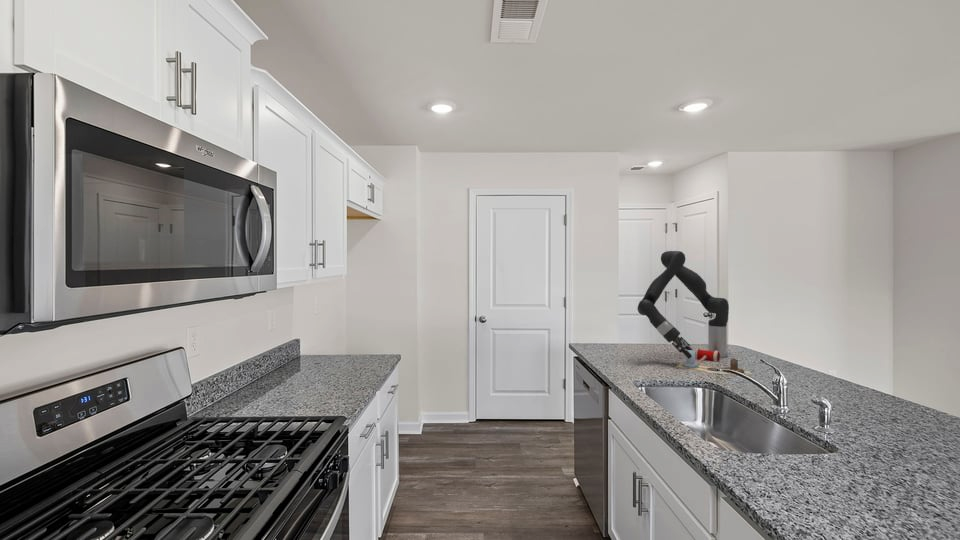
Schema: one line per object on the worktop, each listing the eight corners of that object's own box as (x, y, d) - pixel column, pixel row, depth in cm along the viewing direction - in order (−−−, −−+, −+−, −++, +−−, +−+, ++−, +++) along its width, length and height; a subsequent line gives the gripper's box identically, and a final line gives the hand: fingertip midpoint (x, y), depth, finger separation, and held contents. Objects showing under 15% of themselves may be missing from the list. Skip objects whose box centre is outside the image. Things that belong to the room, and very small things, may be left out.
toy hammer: (708, 369, 220) (708, 357, 220) (683, 366, 228) (683, 353, 228) (720, 361, 237) (720, 350, 237) (696, 358, 245) (697, 347, 245)
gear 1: (684, 364, 225) (684, 348, 224) (699, 366, 220) (699, 350, 220) (681, 367, 219) (681, 351, 219) (696, 369, 215) (696, 352, 215)
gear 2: (725, 369, 214) (725, 355, 214) (744, 371, 209) (745, 358, 209) (723, 372, 208) (723, 358, 208) (743, 375, 203) (743, 361, 203)
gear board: (680, 365, 228) (680, 362, 228) (750, 373, 210) (750, 370, 210) (674, 370, 218) (674, 367, 218) (747, 379, 200) (747, 376, 200)
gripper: (670, 328, 218) (695, 353, 212) (676, 324, 230) (701, 349, 223) (659, 337, 222) (683, 363, 215) (666, 334, 233) (689, 358, 226)
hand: (692, 356), depth 219 cm, fingers open, 8 cm apart
